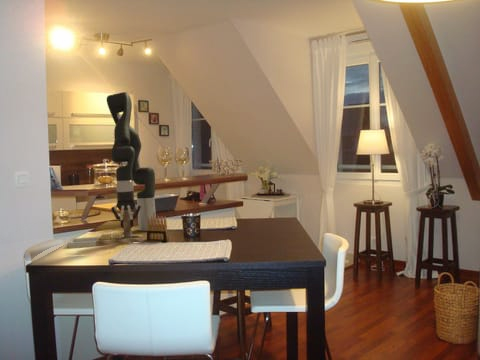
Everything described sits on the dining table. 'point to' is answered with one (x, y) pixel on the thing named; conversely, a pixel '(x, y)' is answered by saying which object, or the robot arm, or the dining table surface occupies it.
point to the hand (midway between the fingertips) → (127, 227)
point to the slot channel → (119, 241)
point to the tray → (82, 242)
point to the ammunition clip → (157, 229)
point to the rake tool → (126, 225)
